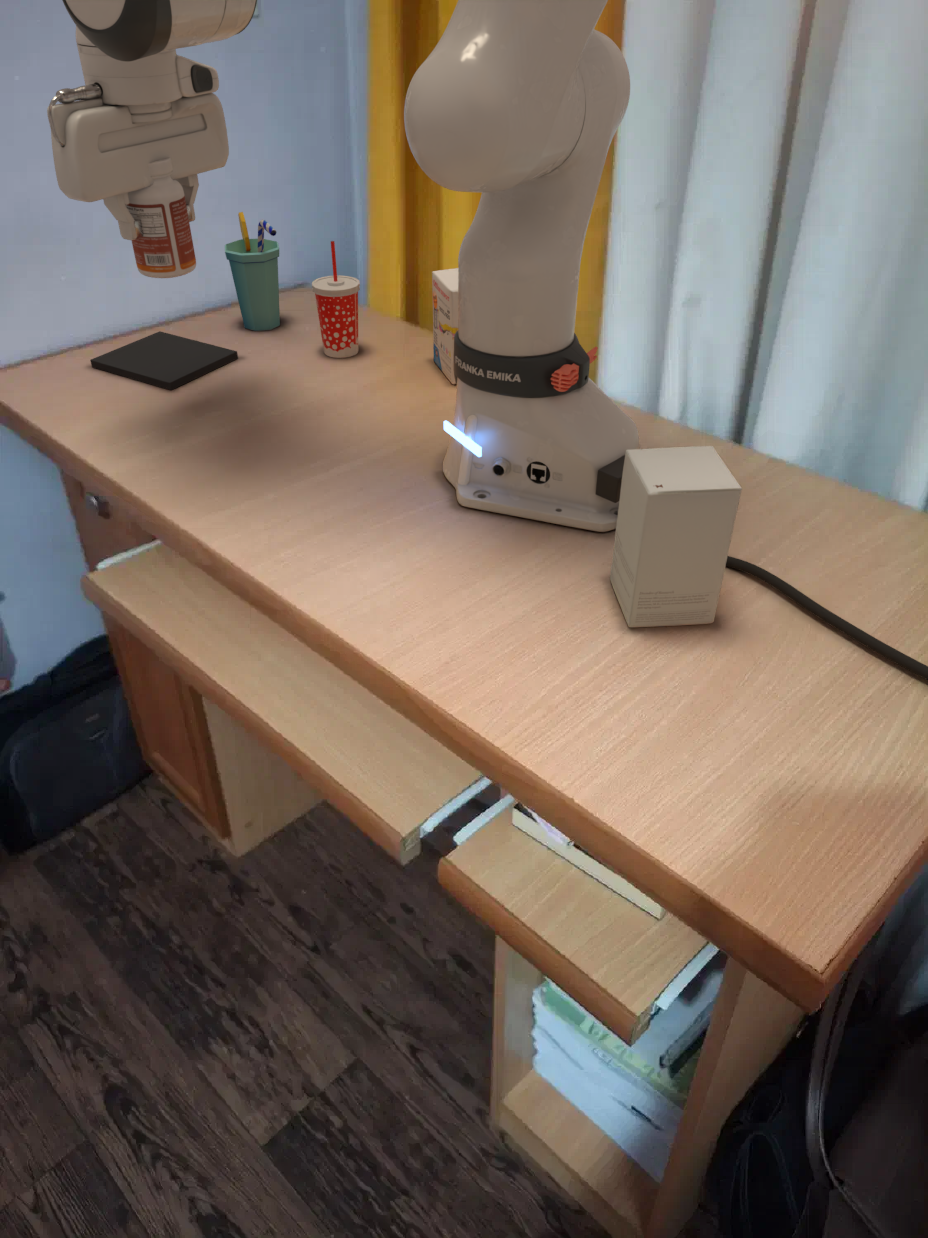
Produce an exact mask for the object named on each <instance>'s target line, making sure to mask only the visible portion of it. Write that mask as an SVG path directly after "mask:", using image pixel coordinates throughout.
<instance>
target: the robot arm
mask: <svg viewBox="0 0 928 1238" xmlns="http://www.w3.org/2000/svg"><path fill="white" fill-rule="evenodd" d="M608 1H609V0H457V2H456V5H455V7H454V9H453V12H452V14H451V16H450V19H449V21H448V23H447V26H446V28H444V32H443V33H442V35H441V37H440V39H439V40H438V42H437V44H436V45H435V46H434V47H433V50H432V51H431V52H430V54H428V56H427V58H425V60H424V61H423V62H422V63H421V64H420V65H419V67H418V68H417V69H416V71H415V72H414V74H413V76H412V78H411V80H410V82H409V85H408V88H407V91H406V95H405V99H404V108H403V120H404V121H403V122H404V130H405V135H406V139H407V143H408V146H409V149H410V152H411V153H412V155H413V158H414V159H415V162H416V163H417V165H418V166H419V168H420V169H421V170H422V172H423V173H424V174H425V175H426V176H427V177H428V178H429V179H431V181H433V182H434V183H436V184H437V185H438V186H440V187H442V188H444V189H447V190H450V191H454V192H461V193H464V192H465V193H481V195H480V199H479V203H478V205H477V209H476V212H475V215H474V217H473V220H472V222H471V224H470V226H469V228H468V230H467V231H466V233H465V235H464V236H463V239H462V242H461V244H460V248H459V252H458V257H457V260H458V261H457V265H458V266H457V268H458V331H457V332H456V333H455V336H454V377H455V382H456V384H455V385H456V390H455V391H456V392H455V402H454V403H455V404H454V412H453V421H452V423H451V422H450V421H448V420H444V421H443V431H445V432H446V433H447V434H448V435H450V437H449V440H448V446H447V449H446V452H445V456H444V458H443V460H442V461H443V462H442V473H443V474H444V476H445V478H446V479H447V481H448V482H449V483H450V484H451V485H452V486H453V487H454V489H455V495H456V500H457V502H458V504H459V505H460V506H462V507H465V508H469V509H475V510H480V511H485V512H491V513H497V514H502V515H506V516H512V517H518V518H523V519H528V520H534V521H538V522H545V523H551V524H556V525H560V526H565V527H571V528H576V529H581V530H588V531H593V532H600V533H605V532H609V531H613V530H616V525H617V517H618V509H619V500H620V491H621V483H622V475H623V467H624V460H625V453H626V450H632V449H641V438H640V432H639V429H638V426H637V424H636V422H635V421H634V420H633V419H632V418H631V417H630V416H629V415H628V414H627V413H626V412H625V411H624V410H622V408H620V407H619V406H618V404H616V403H615V402H614V401H613V400H612V399H611V398H610V397H609V395H607V394H606V393H605V392H604V391H603V390H602V389H601V388H600V387H599V385H597V384H596V383H595V382H594V381H593V380H592V379H591V378H590V376H589V375H590V367H591V366H590V365H591V364H592V363H593V362H594V361H595V360H597V358H598V355H596V354H597V351H598V349H599V348H598V347H597V346H594V347H593V348H592V349H590V350H589V351H587V352H586V350H585V349H584V348H583V346H582V345H581V344H580V340H579V338H578V335H577V334H576V333H575V330H576V329H575V327H576V317H577V306H578V294H579V284H580V283H579V281H580V272H581V271H580V270H581V262H582V256H583V250H584V245H585V240H586V236H587V230H588V227H589V224H590V219H591V215H592V212H593V208H594V205H595V200H596V197H597V193H598V190H599V186H600V183H601V178H602V175H603V171H604V168H605V167H604V166H605V164H606V160H607V156H608V152H609V150H610V147H611V143H612V141H613V139H614V137H615V134H616V133H617V130H618V128H619V127H620V125H621V123H622V121H623V119H624V117H625V115H626V113H627V109H628V106H629V103H630V95H631V76H630V71H629V66H628V64H627V61H626V58H625V57H624V54H623V52H622V51H621V49H620V48H619V46H618V45H617V44H616V43H615V42H614V40H613V39H612V38H610V37H609V36H608V35H606V34H605V33H603V32H601V31H599V30H597V29H595V28H596V26H597V23H598V21H599V19H600V18H601V15H602V13H603V11H604V9H605V7H606V5H607V4H608ZM62 3H63V5H64V7H65V9H66V11H67V13H68V15H69V17H70V18H71V20H72V22H73V23H74V24H75V42H76V47H77V53H78V56H79V61H80V67H81V71H82V75H83V80H84V84H85V85H81V86H78V87H75V88H68V87H66V88H60V89H59V90H57V91H56V92H55V95H54V97H52V99H51V100H50V103H49V105H48V106H47V108H46V113H47V119H48V124H49V129H50V139H51V149H52V157H53V164H54V171H55V176H56V182H57V185H58V188H59V190H60V191H61V192H62V193H63V194H64V195H65V196H66V197H67V198H68V199H70V200H74V201H77V202H84V203H94V202H99V201H100V200H101V201H102V200H103V204H104V206H105V207H106V208H107V210H108V211H109V212H110V214H111V215H112V217H113V218H114V219H115V220H116V221H117V224H118V228H119V233H120V236H121V238H122V239H123V240H127V241H132V240H135V239H137V238H140V237H143V235H144V233H143V230H142V223H141V220H140V219H134V218H133V217H132V215H131V214H130V212H129V211H128V209H127V208H126V206H125V205H128V204H129V197H128V192H132V191H135V190H139V189H143V188H147V187H150V186H151V185H153V183H154V179H152V178H151V177H152V176H150V171H149V165H148V164H149V163H151V162H155V161H158V160H162V159H166V158H171V163H172V167H173V170H172V172H173V173H172V174H171V175H170V177H171V179H172V180H176V181H178V182H179V183H180V184H181V186H182V188H183V191H184V196H185V201H186V207H187V213H188V218H189V223H191V222H194V221H195V220H196V213H195V208H194V204H195V202H196V198H197V194H198V190H199V186H200V183H199V177H198V174H199V175H200V174H203V173H207V172H210V171H214V170H217V169H222V168H224V167H225V166H226V164H227V161H228V159H229V155H230V146H229V138H228V137H229V136H228V130H227V123H226V118H225V112H224V108H223V105H222V103H221V100H220V98H219V97H218V96H217V94H215V92H218V90H219V88H220V79H219V73H218V71H217V69H216V68H215V67H214V66H211V65H208V64H205V63H203V62H198V61H196V60H193V59H190V58H187V57H185V56H182V55H179V54H177V50H176V49H183V48H184V49H185V48H190V47H197V46H200V45H204V44H210V43H215V42H222V41H224V40H228V39H230V38H231V37H234V36H236V35H239V34H241V33H242V32H243V31H245V30H246V28H247V27H248V26H249V24H250V23H251V22H252V19H253V17H254V14H255V11H256V9H257V4H258V0H62ZM725 567H728V568H731V569H735V570H738V571H741V572H744V573H746V574H749V575H751V576H753V577H755V578H756V579H759V580H761V582H764V583H765V584H767V585H769V586H771V587H772V588H774V589H776V590H777V591H779V592H780V593H782V594H783V595H785V596H786V597H788V598H789V600H792V601H793V602H795V603H796V604H797V605H799V606H800V607H802V608H803V609H805V610H806V611H807V612H809V613H810V614H813V615H814V616H816V617H817V618H818V619H820V620H822V621H823V622H824V623H827V624H829V625H830V626H831V627H833V628H835V629H836V630H838V631H840V632H841V633H843V634H844V635H846V636H848V637H850V638H852V639H853V640H854V641H856V642H858V643H860V644H861V645H863V646H865V647H866V648H868V649H870V650H872V651H873V652H874V653H877V654H878V655H880V656H882V657H883V658H886V659H887V660H889V661H890V662H893V663H895V664H897V665H898V666H900V667H901V668H904V669H905V670H908V671H909V672H912V673H913V674H915V675H917V676H919V677H921V678H923V679H924V680H926V681H928V665H926V664H924V663H922V662H920V661H918V660H916V659H915V658H913V657H910V656H909V655H907V654H905V653H903V652H901V651H900V650H898V649H896V648H894V647H892V646H891V645H888V644H887V643H885V642H883V641H881V640H880V639H878V638H876V637H875V636H872V635H871V634H869V633H867V632H866V631H864V630H863V629H861V628H859V627H857V626H856V625H854V624H852V623H850V622H849V621H847V620H845V619H844V618H842V617H841V616H839V615H837V614H836V613H834V612H832V611H830V610H829V609H827V608H825V607H824V606H822V605H821V604H819V603H818V602H817V601H815V600H813V599H812V598H810V597H809V596H807V594H805V593H803V592H802V591H800V590H798V588H796V587H794V586H792V584H790V583H788V582H786V581H785V580H783V579H782V578H780V577H779V576H777V575H775V574H774V573H771V572H770V571H768V570H766V569H765V568H762V567H761V566H758V565H756V564H755V563H751V562H748V561H746V560H743V559H741V558H740V559H739V558H736V557H733V556H730V555H728V557H727V561H726V566H725Z"/></svg>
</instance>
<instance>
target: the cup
mask: <svg viewBox="0 0 928 1238" xmlns="http://www.w3.org/2000/svg"><path fill="white" fill-rule="evenodd" d="M237 216H238V221H239V228H240V232H241V233H240V234H241V237H242V238H241V239H237V240H235V241H231V242H228V243H226V244H225V245H224V254H225V258H226V260H228V262H229V266H230V271H231V275H232V280H233V285H234V288H235V292H236V297H237V301H238V305H239V309H240V314H241V319H242V323H243V328H244V329H247V330H250V331H255V332H258V331H271V330H273V329H275V328H278V327H280V326H281V317H280V316H281V315H280V288H279V285H280V283H279V262H278V261H279V257H280V246H279V245H280V243H279V242H278V241H276V240H271V239H266V238H265V231H266V232H267V233H268V234H269V235H270V236H271V237H274V236H276V235H277V230H276V229H275V228H274V227H273V226H272V225H271V224H270V223H269V222H268V221H266V219H260V221H259V222H258V224H257V238H250V235H249V231H248V226H247V222H246V218H245V214H244V212H243V211H240V212H238V215H237Z"/></svg>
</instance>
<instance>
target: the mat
mask: <svg viewBox="0 0 928 1238" xmlns="http://www.w3.org/2000/svg"><path fill="white" fill-rule="evenodd" d="M238 359H239V356H238V351H237V350H234V349H229V348H226V347H222V346H218V345H214V344H210V343H206V342H202V341H199V340H195V339H191V338H188V337H183V336H180V335H176V334H171V333H168V332H164V331H161V330H159V331H157V332H154V333H152V334H150V335H147V336H144V337H142V338H140V339H137V340H134V341H133V342H130V343H128V344H125V345H123V346H120V347H118V348H116V349H113V350H111V351H109V352H105V353H103V354H101V355H98V356H96V357H94V358H91V359H90V361H89V362H90V364H91V367H92V368H94V369H97V370H101V371H105V372H108V373H110V374H114V375H118V376H121V377H124V378H128V379H130V380H134V381H138V382H141V383H145V384H149V385H152V386H155V387H158V388H161V389H166V390H169V391H173V390H175V389H177V388H179V387H181V386H183V385H185V384H187V383H189V382H192V381H194V380H196V379H199V378H200V377H202V376H204V375H206V374H208V373H210V372H213V371H214V370H216V369H219V368H221V367H223V366H225V365H227V364H229V363H232V362H234V361H235V360H238Z"/></svg>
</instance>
